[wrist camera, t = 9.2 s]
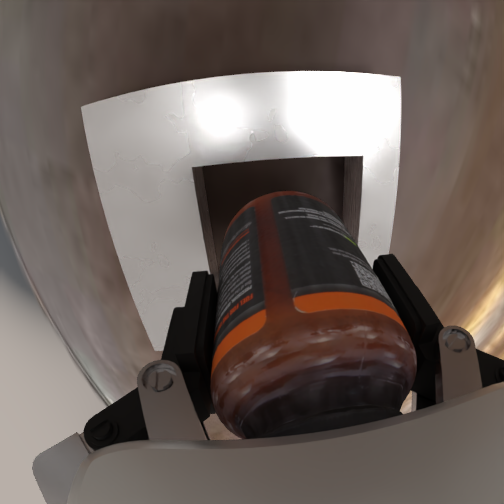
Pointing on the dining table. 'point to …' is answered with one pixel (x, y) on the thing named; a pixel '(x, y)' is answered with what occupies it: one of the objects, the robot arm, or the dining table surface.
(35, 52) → the dining table surface
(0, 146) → the dining table surface
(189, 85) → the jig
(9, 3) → the dining table surface
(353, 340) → the supplement bottle
